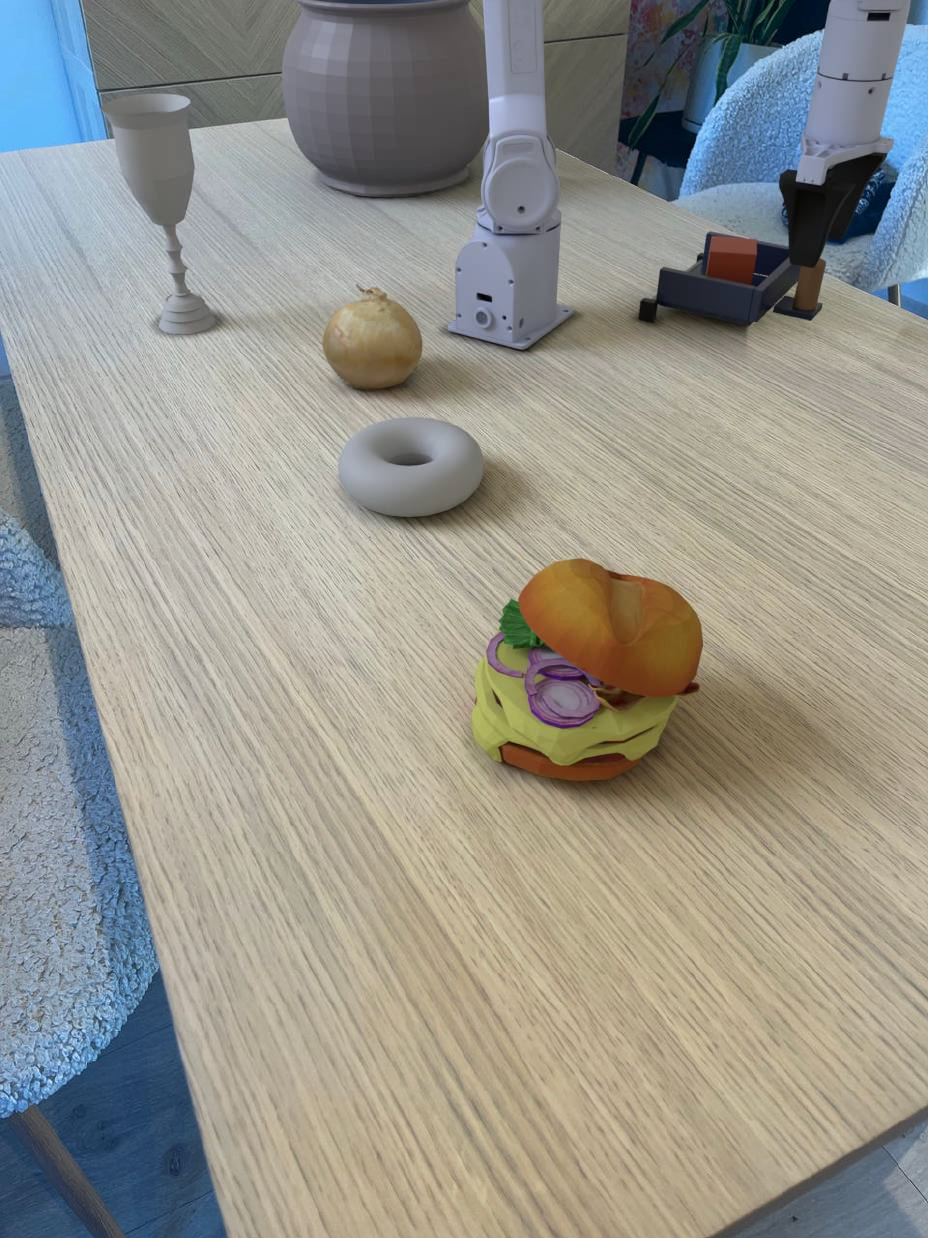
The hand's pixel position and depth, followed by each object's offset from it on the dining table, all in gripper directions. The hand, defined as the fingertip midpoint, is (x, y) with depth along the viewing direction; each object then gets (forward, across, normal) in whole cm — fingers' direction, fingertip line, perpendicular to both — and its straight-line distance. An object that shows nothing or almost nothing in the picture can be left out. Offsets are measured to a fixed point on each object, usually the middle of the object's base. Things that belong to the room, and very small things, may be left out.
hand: (816, 250), depth 86 cm
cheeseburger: (+7, -55, -6) cm, 56 cm away
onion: (+7, -29, +26) cm, 40 cm away
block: (+5, 0, +7) cm, 9 cm away
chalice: (+6, -29, +47) cm, 56 cm away
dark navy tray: (+6, 0, +6) cm, 8 cm away
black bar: (+6, 0, +12) cm, 14 cm away
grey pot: (+6, +17, +57) cm, 60 cm away
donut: (+7, -41, +14) cm, 44 cm away
